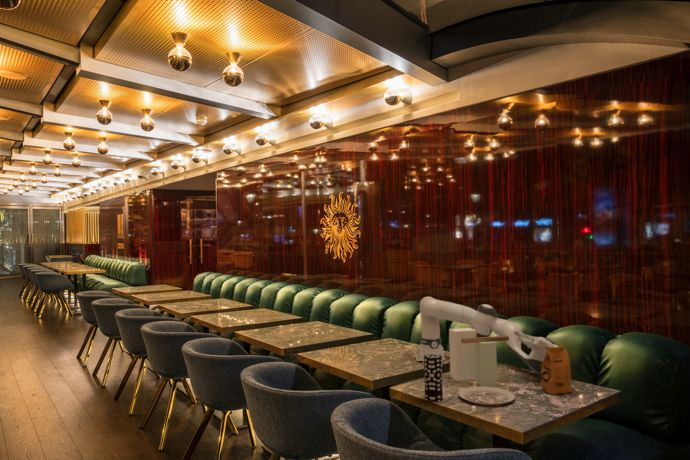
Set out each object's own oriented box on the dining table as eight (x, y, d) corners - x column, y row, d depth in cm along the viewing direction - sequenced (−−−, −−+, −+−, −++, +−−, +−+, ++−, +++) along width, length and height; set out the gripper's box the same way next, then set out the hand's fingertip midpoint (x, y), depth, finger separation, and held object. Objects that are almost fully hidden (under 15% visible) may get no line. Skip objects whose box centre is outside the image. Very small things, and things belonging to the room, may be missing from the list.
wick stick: (461, 342, 253) (461, 338, 253) (506, 339, 257) (506, 335, 257) (463, 343, 250) (463, 339, 250) (508, 340, 255) (508, 336, 255)
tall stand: (450, 376, 269) (449, 329, 269) (471, 375, 271) (469, 327, 272) (456, 381, 261) (455, 331, 261) (477, 379, 263) (476, 330, 264)
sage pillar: (475, 383, 256) (474, 340, 257) (489, 381, 258) (488, 339, 258) (482, 387, 249) (481, 343, 249) (497, 386, 250) (496, 342, 251)
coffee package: (538, 389, 243) (537, 344, 243) (560, 387, 246) (558, 343, 246) (552, 395, 233) (550, 349, 234) (574, 393, 236) (572, 347, 237)
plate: (448, 394, 239) (447, 390, 239) (491, 388, 248) (491, 384, 248) (479, 411, 215) (479, 406, 215) (527, 403, 224) (527, 398, 224)
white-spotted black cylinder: (421, 397, 234) (420, 355, 235) (436, 395, 238) (434, 353, 238) (431, 402, 227) (430, 359, 227) (446, 400, 230) (445, 357, 231)
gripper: (549, 355, 249) (527, 343, 247) (527, 347, 269) (506, 335, 267) (555, 344, 250) (533, 332, 247) (532, 336, 270) (512, 325, 267)
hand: (519, 333), depth 257 cm, fingers open, 8 cm apart
